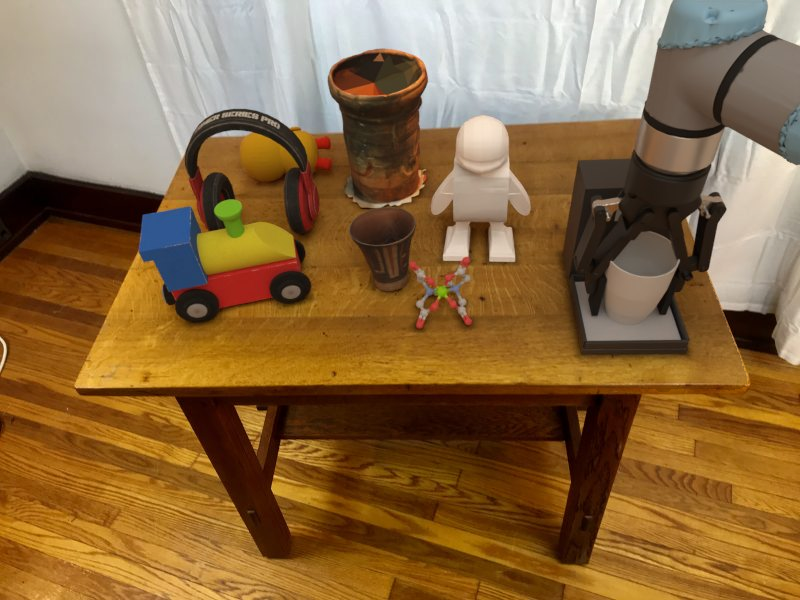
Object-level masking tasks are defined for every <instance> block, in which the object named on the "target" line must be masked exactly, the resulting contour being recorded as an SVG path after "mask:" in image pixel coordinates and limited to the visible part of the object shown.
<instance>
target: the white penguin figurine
mask: <svg viewBox="0 0 800 600" xmlns="http://www.w3.org/2000/svg"><path fill="white" fill-rule="evenodd" d="M451 203H452V221H453V222H454V223H455V224H453V225H451V226H450V225H448V226H447V228H446V233H445V240H444V247H443V253H442V261H443V262H445V261H446V262H461V261H462V259H463V258H464V257H469V258H470V243H471V226H470V224H471V223H489V225H490V226H488V229H487V232H488V233H487V235H488V262H492V263H494V262H496V263H497V262H498V263H515V262H516V252H515V251H516V250H515V241H514V233H513V228H512V226H506V225H505V223H507V220H508V207H509V203H510V205H512V207H513V208H514V209H515V211H516V212H517V213H519V215H521V216H529V215H530V214H531V210H532V209H531V208H532V207H531V200H530V196H529V194H528V193H527V191H526V189H525V188H524V186H523V184H522V183H521V182H520V180H519V179H518V178H517V177H516V175H515V174H514V173H513V172H512V170H511V169H510V137H509V133H508V131H507V128H506V126H505V125H504V123H503V122H502V121H500V120H499V119H497V118H495V117H493V116H491V115H490V116H489V115H487V114H486V115H485V114H481V115H477V116H473V117H471V118H469V119H467V120H466V121H464V122H463V124H462V125H461V126H460V128H459V130H458V132H457V134H456V142H455V156H454V158H453V169H452V170H451V171H450V173H449V174H448V175H447V176H446V177H445V178H444V180H442V182H441V183H440V184H439V186H438V188H437V189H436V190H435V192H434V194H433V196H432V198H431V202H430V212H431V214H432V215H434V216H437V215H440V214H442V213H443V212H444V211H445V210H446V209H447V208H448V207H449V205H450V204H451Z"/></svg>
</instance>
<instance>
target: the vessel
mask: <svg viewBox="0 0 800 600" xmlns="http://www.w3.org/2000/svg"><path fill="white" fill-rule="evenodd" d="M428 83H429V75H428V71H427V67H426V64H425V63H424V61H423V60H422V59H421V58H420V57H418V56H416V55H414V54H412V53H409V52H406V51H403V50H398V49H392V48H374V49H368V50H365V51H363V52H361V53H357V54H354V55H351V56H348V57H344V58H342V59H340V60H338V61H337V62H336V63H334V64H333V65H332V66H331V67H330V69H329V72H328V75H327V85H328V91H329V94H330V96H331V98H332V99H333V100H334V101H335V102H336V103H337V104H338V110H339V111H340V114H341V119H342V133H343V134H342V135H343V140H344V144H345V149H346V153H347V159H348V165H349V170H350V171H349V172H350V175H349V176H348V177H346V181H347V184H346V186H345V188H344V194H346V195H347V197H348V198H352V202H353V203H357V205H358V206H359V207H360V208H369V209H376V208H381V207H386V206H387V205H389V207H394V206H397V207H398V206H401V205H402V204H407V203H412V198H413V197H417V196H419V194H420V190H421V189H423V188H424V187H425V186H426V185H425V184H424V183H425V182H426V181H427V175H426V174H424V171H427V169H426V168H424V169H419V159H420V154H421V148H420V139H421V125H420V108H421V107H422V104H423V99H422V95H423V94H424V92H425V90H426V88H427V86H428Z"/></svg>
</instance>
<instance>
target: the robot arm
mask: <svg viewBox="0 0 800 600" xmlns="http://www.w3.org/2000/svg"><path fill="white" fill-rule="evenodd" d="M768 9H769V4H768V0H672V1H671V3H670V5H669V9H668V12H667V15H666V18H665V22H664V25H663V28H662V31H661V35H660V37H659V38H658V39H657V42H656V46H657V48H656V53H655V57H654V63H653V67H652V71H651V72H652V73H651V78H650V82H649V88H648V94H647V96H646V100H645V101H644V106H643V110H642V113H641V117H640V121H639V125H638V129H637V134H636V138H635V142H634V145H633V146H634V149H633V150H632V153H631V157H630V158H631V160H630V164H629V168H628V173H627V177H626V181H625V186H624V188H623V190H622V191H621V192H620V193H619V194H618V196H617V198H611V199H605V200H602V197H601V196H599V195H596V196H594V197H592V198H591V215H590V217H589V220H588V222H587V225H586V227H585V230H584V232H583V235H582V237H581V239H580V242H579V244H578V247H577V249H576V252H575V254H574V257H573V259H574V263H575V268H576V272H577V274H578V275H583V274H585V273H586V278H585V282H584V284H585V288H586V292H587V294H589V298H588V301H589V306H590V311H591V315H592V316H598V313H599V309H600V305H601V301H602V297H603V293H604V289H605V285H606V281H607V278H606V276H605V273H604V272H605V271H606V269H607V268H608V267H609V266H610V261H614V260H615V259H616V257H617V256H618V255H619V254H620V253H621V251H622V250H623V249H624V248H625V247H626V245H627V244H628V243H629V242H630V241H631V240H635V239H636V238H637V237H638V235H639V234H640V233H641V232H647V231H652V230H656V231H668V232H669V236H670V241H671V245H672V249H673V252H674V255H675V257H676V260H678V259H680V262H679V264H678V267H677V269H676V271H675V273H674V276H673V278H672V280H671V282H670V284H669V287H668V289H667V291H666V292H665V294H664V295H663V297H662V298H661V300H660V301H659V303H658V304H657V308H658V311H659V314H660V315H666V313H667V311H668V308H669V305H670V303H671V300H672V297H673V295H674V296H675V293H681V292H682V290H683V289H684V286H685V284H686V283H687V282H689V281H691V280H693V278H694V275H693V272H697V271H698V272H699V273H706V272H707V271H709V269H710V265H711V260H712V257H713V250H714V246H715V245H714V244H715V240H716V235H717V230H718V225H719V223H720V221H721V220H722V218H723V217H724V215H725V214H726V212H727V205H726V203H724V200H723V198H722V196H721V194H720V192H718V191H713V192H710V193H709V194H708V195H703V194H702V193H703V191H704V188H705V185H706V183H707V179H708V178H709V174H710V171H711V168H712V163H713V162H714V161H715V158H716V155H717V152H718V149H719V147H720V143H721V141H722V138H723V135H724V133H725V129H726V128H729V129H731V130H732V131H734V132H736V133H738V134H740V135H741V136H743V137H744V138H747V139H749V140H751V141H752V142H755V143H756V144H757V145H760V146H761V147H763V148H765V149H767V150H768V151H770V152H772V153H774V154H776V155H778V156H779V157H781V158H783V160H786V162H787V163H790V164H792V165H795V166H800V45H799V44H796V43H793V42H791V41H788V40H785V39H783V38H781V37H778V36H776V35H774V34H772V33H770V32H767V31H765V30H764V28H765V25H766V23H767V20H766V19H767V15H768V11H769V10H768ZM617 210H620V211H621V213H622V214H621V215H620V216H619V218H618V222H617V224H616V225H615V227H614V228H613V229H612V230H611V232H610V233H609V234H608V235H607V237H606V238H605V239H604V240H603V242H602V243H601V244H600V246H599V247H598V245H599V242H600V240H601V238H602V236H603V233H604V231H605V228H606V221H610V220H611V217H612V216H613V213H614V212H615V211H617ZM697 210H698V212H699V213H698V217H697V224H696V230H695V236H694V241H693V247H692V253H691V255H688V254H689V253H688V249H687V244H686V240H685V233H684V227H683V224H682V223H683V221H684V220H686V219H687V218H689V216H691V215H692V214H693V213H694V212H696V211H697ZM681 222H682V223H681ZM597 247H598V248H597Z"/></svg>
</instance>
